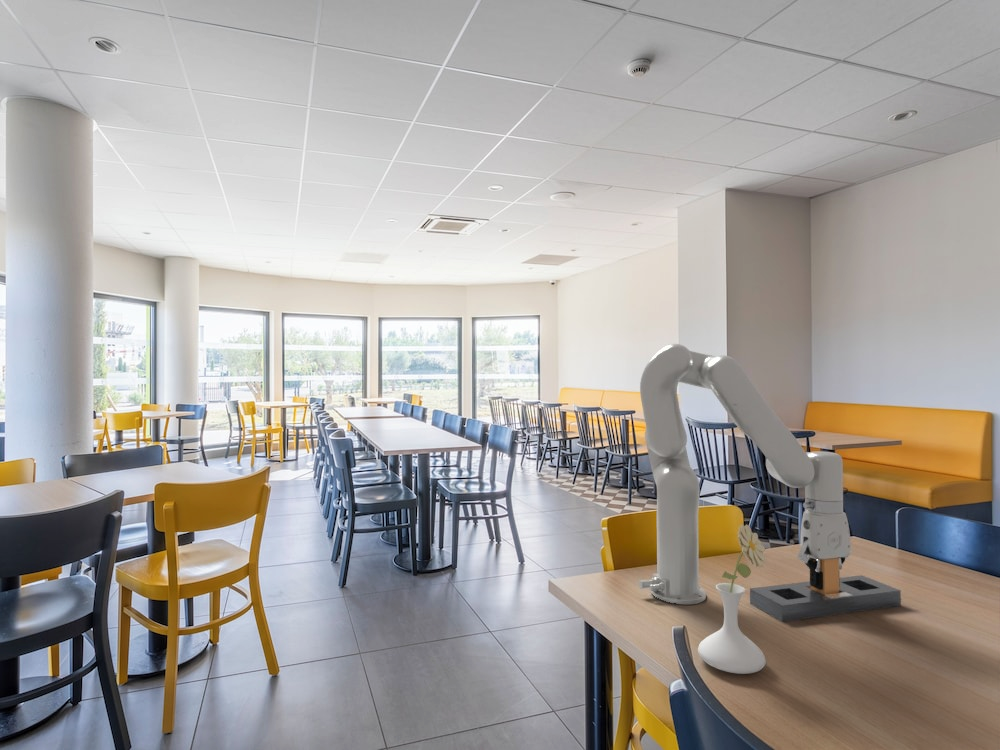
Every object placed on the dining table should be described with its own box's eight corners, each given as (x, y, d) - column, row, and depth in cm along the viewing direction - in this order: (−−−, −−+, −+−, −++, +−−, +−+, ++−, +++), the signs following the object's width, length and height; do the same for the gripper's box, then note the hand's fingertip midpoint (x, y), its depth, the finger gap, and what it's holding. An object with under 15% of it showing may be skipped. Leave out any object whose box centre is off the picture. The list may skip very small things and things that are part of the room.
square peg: (824, 602, 125) (824, 557, 125) (810, 595, 128) (810, 552, 129) (839, 600, 126) (838, 556, 126) (825, 593, 129) (824, 550, 130)
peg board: (782, 622, 118) (782, 604, 118) (750, 603, 128) (749, 587, 128) (900, 605, 126) (900, 589, 126) (861, 589, 136) (861, 574, 136)
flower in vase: (732, 687, 93) (730, 538, 94) (684, 656, 104) (683, 522, 104) (787, 670, 99) (786, 529, 99) (736, 642, 109) (735, 515, 109)
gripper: (806, 512, 122) (807, 596, 121) (867, 507, 126) (868, 589, 126) (781, 505, 129) (781, 584, 129) (839, 500, 133) (840, 577, 133)
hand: (824, 585), depth 127 cm, fingers closed on square peg, 3 cm apart
